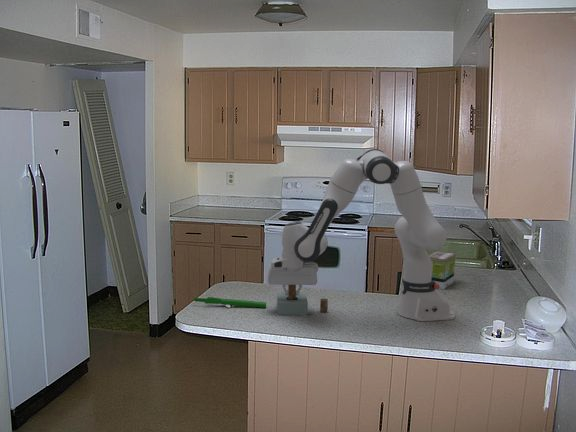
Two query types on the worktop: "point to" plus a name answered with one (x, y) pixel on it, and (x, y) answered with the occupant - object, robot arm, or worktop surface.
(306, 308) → the hole block
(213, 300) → the green onion
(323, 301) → the short peg
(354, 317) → the worktop surface
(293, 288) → the long peg
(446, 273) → the tea box
